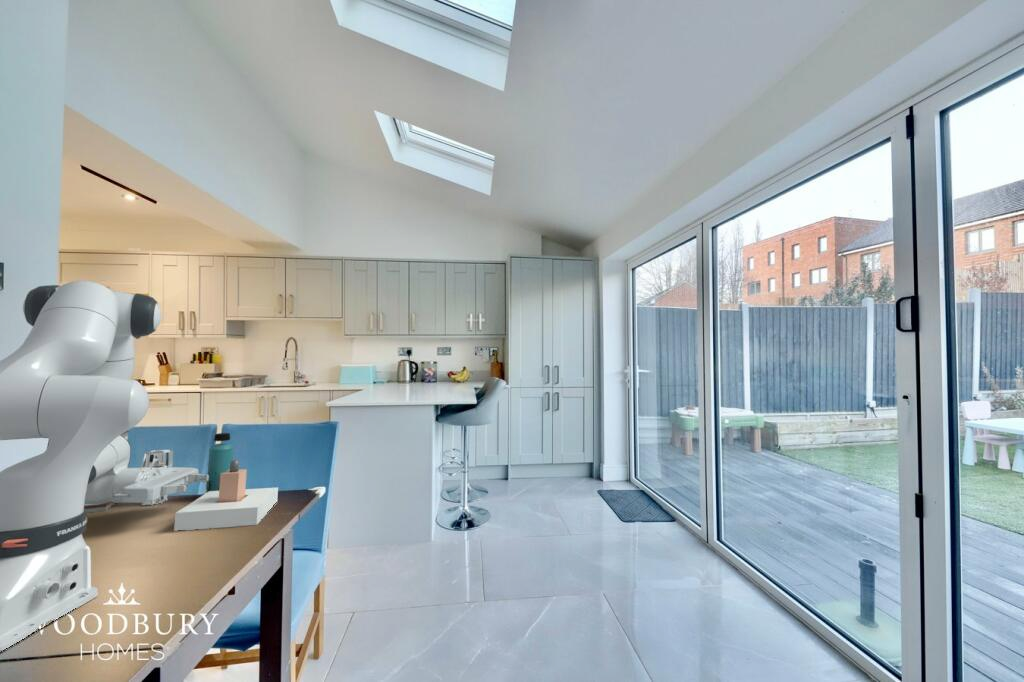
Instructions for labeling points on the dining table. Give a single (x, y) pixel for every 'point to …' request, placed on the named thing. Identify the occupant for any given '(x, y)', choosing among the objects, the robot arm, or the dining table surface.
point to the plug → (232, 484)
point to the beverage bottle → (218, 461)
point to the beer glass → (157, 460)
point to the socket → (226, 510)
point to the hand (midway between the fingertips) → (197, 483)
